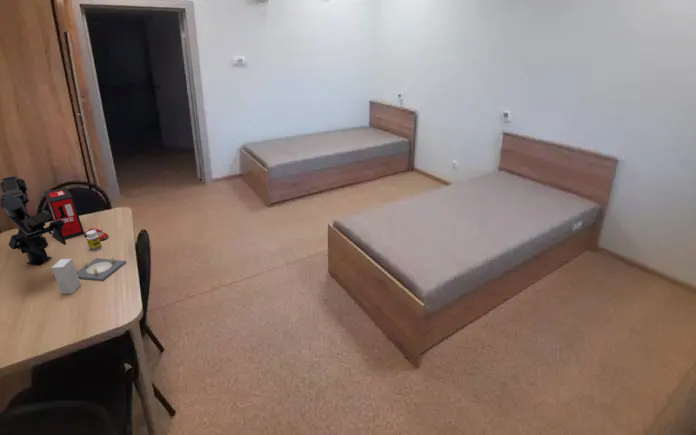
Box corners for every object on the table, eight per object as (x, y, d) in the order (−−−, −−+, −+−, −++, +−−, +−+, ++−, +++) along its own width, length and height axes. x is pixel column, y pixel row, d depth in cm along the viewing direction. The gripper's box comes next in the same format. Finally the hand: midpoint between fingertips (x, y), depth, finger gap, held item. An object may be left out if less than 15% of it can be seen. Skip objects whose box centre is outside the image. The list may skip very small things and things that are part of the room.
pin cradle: (71, 277, 160) (68, 269, 158) (97, 260, 172) (94, 252, 171) (102, 281, 158) (100, 272, 156) (126, 262, 170) (124, 254, 169)
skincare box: (69, 285, 155) (60, 258, 150) (81, 284, 156) (72, 258, 151) (61, 294, 150) (50, 267, 145) (72, 293, 150) (63, 266, 145)
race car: (111, 238, 192) (108, 230, 190) (100, 243, 187) (98, 235, 185) (93, 232, 197) (91, 225, 195) (82, 237, 193) (80, 229, 191)
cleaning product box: (84, 234, 194) (72, 196, 186) (63, 240, 189) (49, 201, 180) (77, 223, 205) (65, 187, 197) (56, 229, 200) (43, 192, 191)
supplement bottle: (96, 251, 179) (91, 235, 176) (87, 250, 180) (82, 234, 176) (104, 246, 183) (99, 230, 180) (95, 245, 184) (90, 229, 181)
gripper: (2, 214, 140) (34, 245, 140) (54, 199, 156) (82, 226, 156) (-5, 234, 145) (26, 264, 145) (46, 218, 161) (74, 244, 161)
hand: (54, 248), depth 152 cm, fingers open, 9 cm apart
